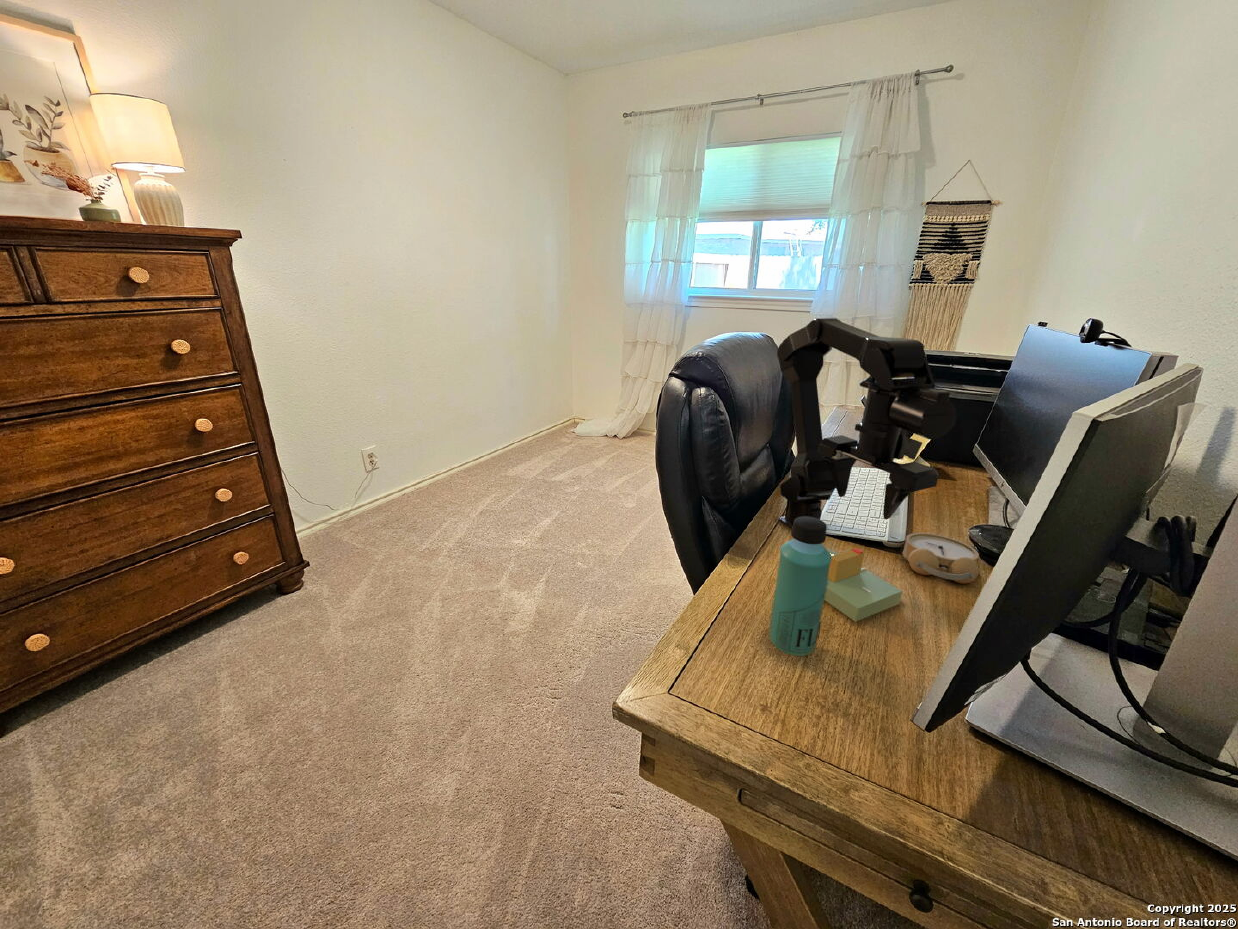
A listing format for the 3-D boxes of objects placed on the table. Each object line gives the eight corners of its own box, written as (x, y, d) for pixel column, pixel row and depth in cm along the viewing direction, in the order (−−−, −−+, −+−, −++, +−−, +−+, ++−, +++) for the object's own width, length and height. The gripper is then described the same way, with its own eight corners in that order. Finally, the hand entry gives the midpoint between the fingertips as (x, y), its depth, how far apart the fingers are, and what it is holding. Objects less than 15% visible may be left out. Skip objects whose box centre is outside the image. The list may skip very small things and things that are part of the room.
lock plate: (787, 574, 85) (789, 561, 84) (829, 560, 89) (831, 548, 88) (854, 622, 73) (858, 607, 72) (899, 604, 77) (903, 590, 76)
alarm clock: (972, 540, 90) (991, 568, 77) (966, 565, 91) (984, 596, 78) (904, 527, 94) (911, 551, 81) (898, 551, 96) (905, 578, 82)
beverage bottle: (791, 672, 63) (813, 539, 56) (756, 641, 69) (772, 516, 62) (826, 656, 66) (851, 527, 59) (789, 627, 72) (808, 506, 65)
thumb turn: (834, 582, 78) (838, 560, 76) (826, 577, 79) (830, 555, 78) (860, 573, 80) (865, 551, 79) (852, 568, 82) (856, 547, 80)
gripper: (973, 430, 72) (946, 521, 78) (868, 401, 88) (852, 479, 94) (924, 439, 68) (899, 535, 74) (823, 407, 84) (809, 489, 90)
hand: (863, 506), depth 83 cm, fingers open, 9 cm apart
